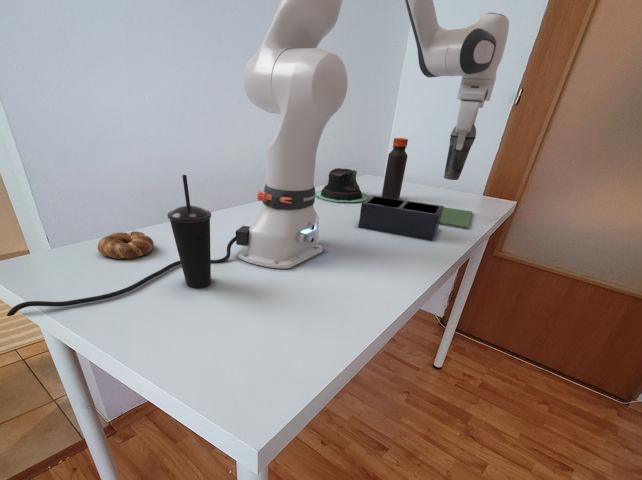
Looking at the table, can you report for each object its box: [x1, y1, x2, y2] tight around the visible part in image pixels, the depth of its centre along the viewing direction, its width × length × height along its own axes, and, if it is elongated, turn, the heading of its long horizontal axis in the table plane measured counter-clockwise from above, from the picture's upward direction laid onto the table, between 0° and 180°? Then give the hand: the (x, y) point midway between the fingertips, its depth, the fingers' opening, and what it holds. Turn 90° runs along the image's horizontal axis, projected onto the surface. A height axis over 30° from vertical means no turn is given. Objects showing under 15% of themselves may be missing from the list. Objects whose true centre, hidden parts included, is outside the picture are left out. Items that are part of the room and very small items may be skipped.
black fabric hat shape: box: [315, 167, 369, 203], centre depth 136 cm, size 15×19×20 cm
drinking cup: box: [166, 174, 212, 289], centre depth 67 cm, size 8×8×20 cm
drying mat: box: [439, 206, 473, 230], centre depth 122 cm, size 20×18×1 cm
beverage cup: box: [443, 124, 477, 181], centre depth 109 cm, size 7×7×20 cm
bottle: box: [381, 137, 409, 199], centre depth 133 cm, size 7×7×20 cm
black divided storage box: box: [357, 195, 445, 242], centre depth 107 cm, size 11×22×7 cm, turn 65°
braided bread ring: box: [97, 230, 155, 260], centre depth 83 cm, size 12×11×4 cm
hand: (459, 148), depth 110 cm, fingers closed on beverage cup, 6 cm apart
